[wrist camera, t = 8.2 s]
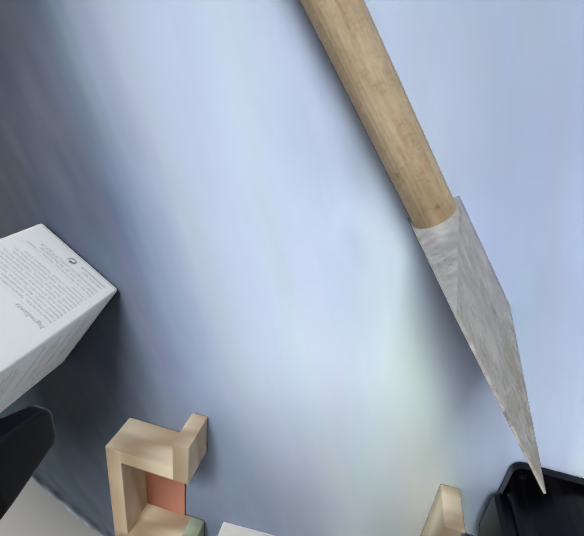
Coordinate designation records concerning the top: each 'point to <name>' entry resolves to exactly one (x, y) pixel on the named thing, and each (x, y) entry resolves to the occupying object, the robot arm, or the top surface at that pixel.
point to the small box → (42, 307)
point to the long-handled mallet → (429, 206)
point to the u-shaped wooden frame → (179, 471)
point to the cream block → (239, 531)
